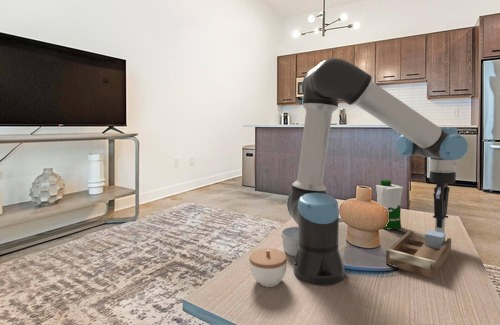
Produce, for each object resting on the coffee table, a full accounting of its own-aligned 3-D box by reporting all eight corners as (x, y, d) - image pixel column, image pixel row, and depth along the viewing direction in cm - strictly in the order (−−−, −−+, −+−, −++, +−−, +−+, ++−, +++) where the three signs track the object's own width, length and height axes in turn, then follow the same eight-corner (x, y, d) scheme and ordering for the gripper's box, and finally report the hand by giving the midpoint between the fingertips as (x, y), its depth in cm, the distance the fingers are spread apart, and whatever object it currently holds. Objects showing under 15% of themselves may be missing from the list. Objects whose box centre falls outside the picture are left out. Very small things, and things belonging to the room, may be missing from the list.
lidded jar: (284, 271, 88) (283, 242, 87) (290, 290, 77) (289, 258, 76) (249, 273, 88) (248, 244, 86) (251, 292, 77) (250, 260, 76)
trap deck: (386, 264, 90) (386, 249, 89) (409, 241, 107) (409, 228, 106) (433, 278, 81) (434, 262, 80) (450, 251, 98) (451, 237, 97)
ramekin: (319, 245, 107) (319, 227, 106) (318, 261, 94) (318, 240, 93) (284, 242, 110) (284, 225, 109) (278, 257, 98) (278, 238, 97)
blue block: (424, 245, 97) (424, 234, 97) (428, 240, 101) (428, 230, 100) (441, 249, 94) (442, 237, 93) (444, 244, 97) (445, 233, 97)
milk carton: (389, 222, 129) (390, 178, 126) (404, 228, 120) (406, 182, 118) (372, 224, 126) (373, 180, 124) (387, 231, 118) (388, 184, 115)
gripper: (451, 174, 92) (448, 243, 95) (459, 169, 101) (455, 232, 104) (425, 172, 98) (423, 238, 100) (434, 168, 107) (432, 228, 110)
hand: (439, 235), depth 102 cm, fingers closed
